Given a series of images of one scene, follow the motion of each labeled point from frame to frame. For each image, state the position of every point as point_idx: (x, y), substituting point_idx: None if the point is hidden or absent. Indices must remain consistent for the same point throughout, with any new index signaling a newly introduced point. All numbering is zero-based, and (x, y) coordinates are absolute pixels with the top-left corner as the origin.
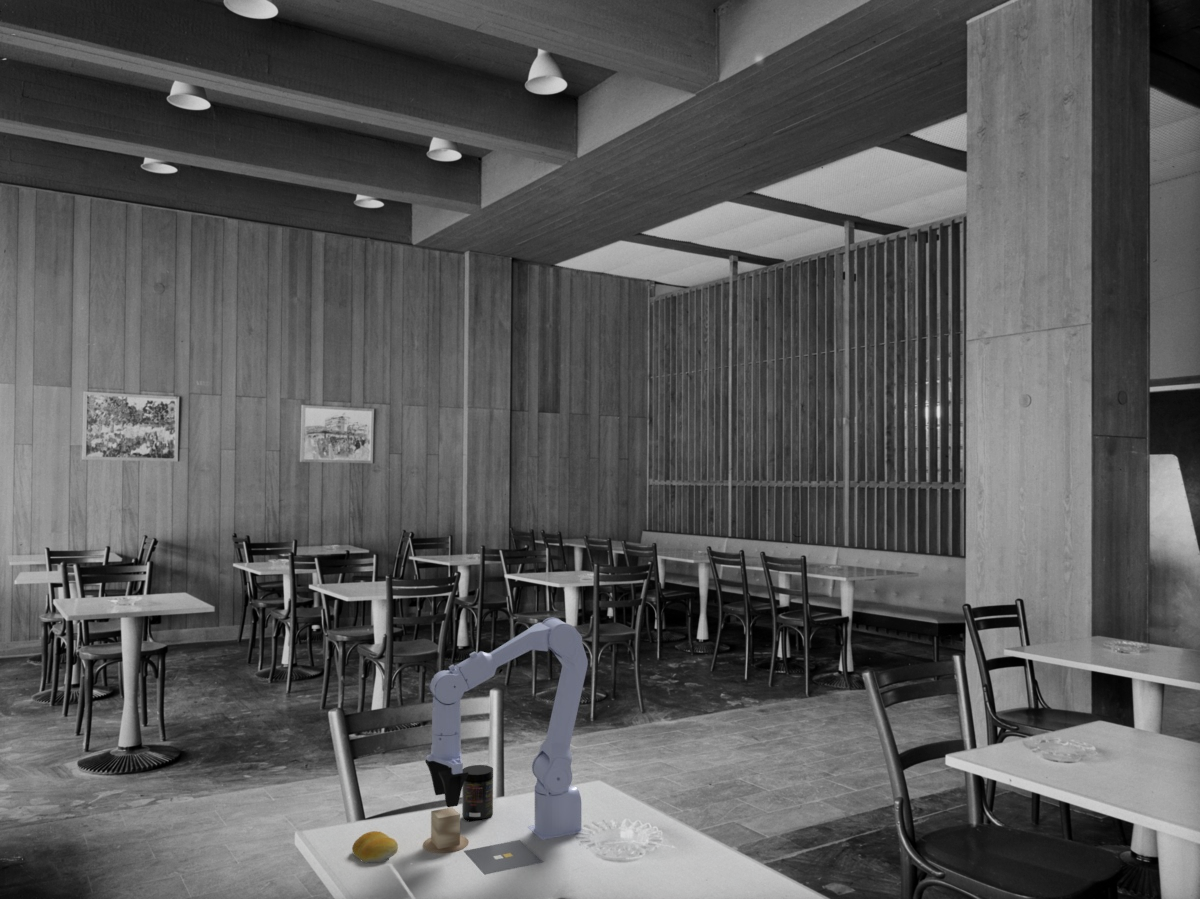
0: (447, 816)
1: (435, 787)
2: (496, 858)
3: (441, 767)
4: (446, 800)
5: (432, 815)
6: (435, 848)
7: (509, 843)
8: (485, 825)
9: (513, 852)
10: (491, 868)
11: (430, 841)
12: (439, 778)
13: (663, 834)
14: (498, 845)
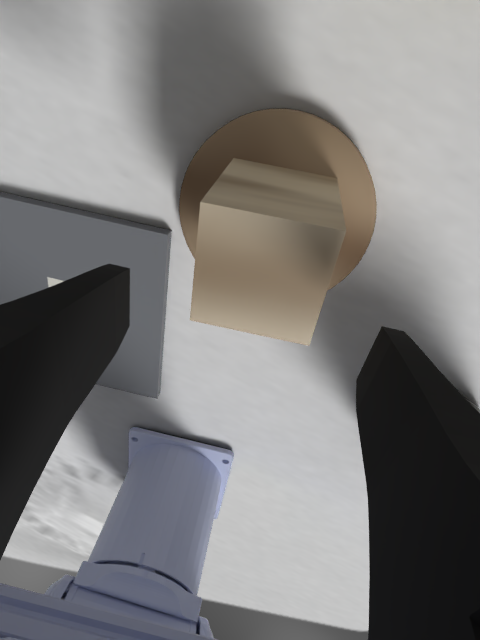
0: (197, 257)
1: (396, 361)
2: (54, 282)
3: (410, 561)
4: (77, 276)
5: (320, 218)
6: (246, 150)
7: (146, 368)
8: (346, 403)
9: None
10: None
11: (335, 173)
12: (400, 444)
13: (63, 547)
14: (148, 340)
